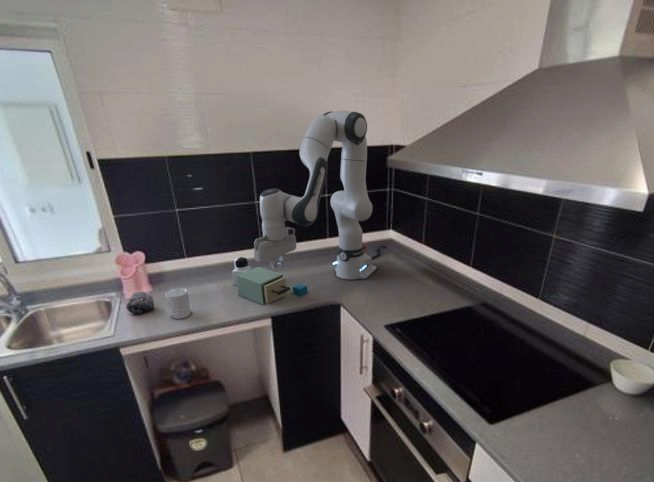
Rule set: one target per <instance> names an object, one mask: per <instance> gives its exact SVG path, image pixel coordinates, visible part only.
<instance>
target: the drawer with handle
mask: <svg viewBox="0 0 654 482" xmlns="http://www.w3.org/2000/svg"><path fill="white" fill-rule="evenodd" d="M262 286H263V294H264V301H265V300H266V304H270V303H272V302H275V301H276V300H278V299H280V298H282V297H285V296H287V295H288V292H289V291H291V287H290V286H287V278H286V277H285V276H283V278H281V279H280V277H279V278H277V279H275V280H272V281H270V282H268V283H266V284H263V285H262Z"/></svg>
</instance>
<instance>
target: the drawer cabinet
mask: <svg viewBox="0 0 654 482" xmlns="http://www.w3.org/2000/svg"><path fill="white" fill-rule="evenodd" d="M236 277H237V283H238V285H237V290H238V295H239V296H240V297H243V298H245V299H248V300H250V301H253V302H255V303H258V304H261V305H266V304H267V303H266V300H265V301H264V294H263V286H262V285H263V284H266V283H268V282H270V281H272V280H275V279H277V278H279V277H280V279H281V278H283V277H284V274H283V273H280V272H277V271H274V270H270V269H268V268H265V267H261V266H256V267H253V268H252V269H251V270H248V271H246V272H243V273H240V274H238V275H236Z"/></svg>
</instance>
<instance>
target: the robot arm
mask: <svg viewBox="0 0 654 482" xmlns="http://www.w3.org/2000/svg"><path fill="white" fill-rule="evenodd" d="M367 132H368V123H367V119H366V116H365V115H364V114H362V113H361V112H358V111H350V110H338V111H337V110H336V111H327V112H325V113H323V114H319V115H317V116H316V117H314V119H313V120H312V121H311V123H310V124H309V127H308V128H307V130H306V133H305V134H304V137H303V139H302V142H301V144H300V147H299V158H300V161H301V163H302V164H303V165H304V166H305V167H306V168H307V169H308V170H309V178H308V182H307V185H306V189H305V192H304V195H303V196H302V197H300V196H296V195H292V194H288V193H285V192H284V191H282V190H281V189H279V188H268V189H265V190H263V191H262V192H261V193H260V196H259V212H260V217H261V232H262V236H261V237H257V238H256V239H255V241H254V242H253V258H254V261H255V262H257V263H259V264H262V263H265V262H268V263H269V264H270V268H271V269H277V265H278V266H283V265H284V261H285V258H286V254H288V253H291V252H293V251H296V248H297V237H296V234H295V233H296V229H295V228H293V227H290V226H286V222H287V221H288V222H291V223H295V224H297V225H299V226H301V227H304V228H307V227H309V226H311V225H313V224H314V223H315V222H316V220H317V218H318V215H319V207H320V201H321V197H322V194H323V190H324V187H325V183H326V180H327V176H328V171H329V164H328V160H329V159H328V158H329V155H330V152H331V151H332V150H331V149H332V147H333V145H334V142H337V143H338V142H340V143H341V145H342V146H341V147H342V148H341V155H340V156H341V157H340V158H341V159H340V171H339V173H340V174H339V177H340V181H341V183H342V185H343V190H338V191H335V192H334V193H333V194H332V195H331V197H330V202H329V203H330V207H331V209H332V210H333V214H334V217H335V221H336V225H337V230H338V247H337V254H338V255H337V256H336V261H334V262H332V265H336V267H335V268H334V272H335V275H336V277H338V278H340V279H342V280H350V281H351V280H352V281H353V280H366V279H368V278H369V277H370V276H371V275H372V274H373V273H374V272H375V271H376V270H377V269H378V268H377V266H376V265H375V264H373V259H375V258H377V257H379V256H380V255H381V252H380V251H379V250H380V249H381V248H384V249H386V245H380V246H379V247H378V248H379V249H378V248H377V249H376V252H377V254H376V255H374V256H372V257H371V256H370V255H368V254H367V253H366V252H365V250H367V249H368V245H366V244H363V229H362V227H361V225H360V223H359V222H365V221H367V220H368V219H369V218H370V217H371V216H372V213H373V203H372V202H371V200H370V198H369V195H368V189H367V182H366V179H367V178H366V176H367V164H368V163H367V161H368V142H367ZM383 246H384V247H383ZM380 247H381V248H380ZM278 257H279V259H278V260H277V262H276V263H275V262H274V261H275V258H278Z"/></svg>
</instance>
